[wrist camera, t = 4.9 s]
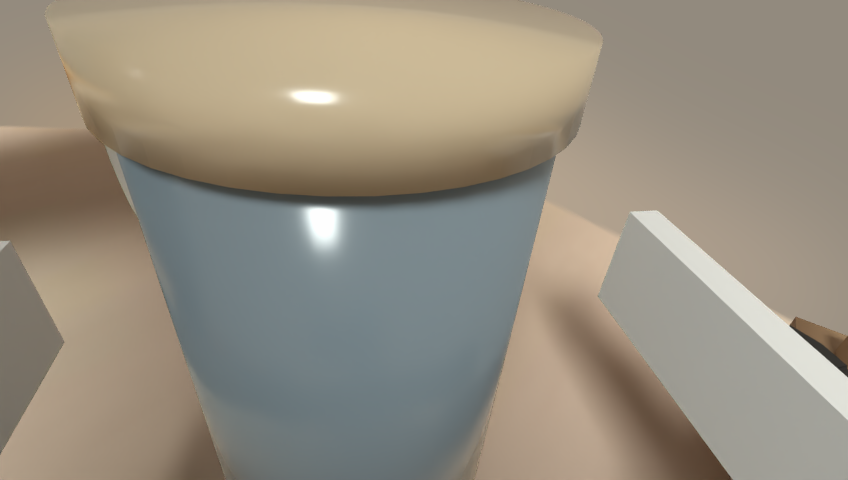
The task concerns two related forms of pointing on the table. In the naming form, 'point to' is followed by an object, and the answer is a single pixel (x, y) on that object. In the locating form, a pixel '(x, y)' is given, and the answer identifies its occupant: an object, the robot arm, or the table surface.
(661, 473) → the table surface
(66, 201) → the table surface
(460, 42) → the canister
